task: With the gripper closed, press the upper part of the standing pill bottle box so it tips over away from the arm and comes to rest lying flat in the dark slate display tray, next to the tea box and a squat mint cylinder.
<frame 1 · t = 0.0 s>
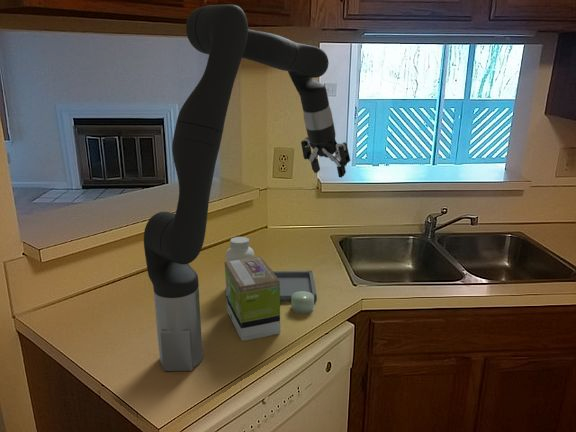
hand: (329, 173, 140), 31 cm above the worktop, tool tilted 20°, fingers open, 8 cm apart
tea box: (252, 323, 122), on the worktop
display tray: (285, 288, 141), on the worktop
pill bottle: (241, 289, 140), on the worktop
squat mint cylinder: (302, 308, 130), on the worktop
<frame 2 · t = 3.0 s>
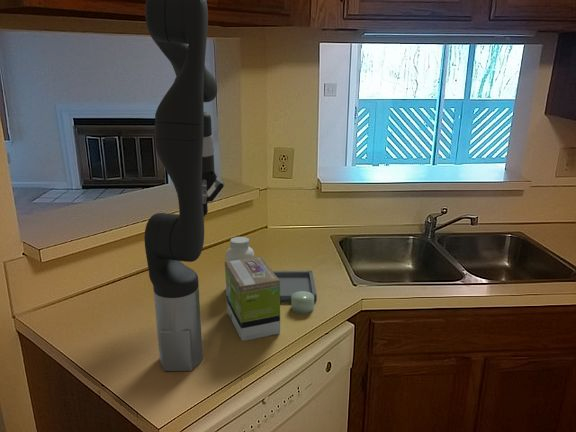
hand: (202, 215, 133), 22 cm above the worktop, tool pointing down, fingers closed
nothing on the worktop moved.
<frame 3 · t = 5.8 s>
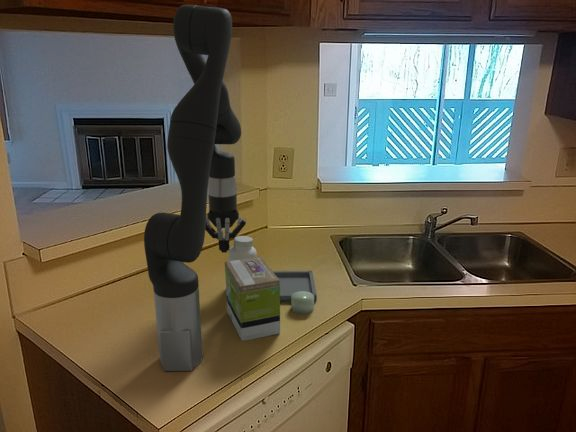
hand: (224, 251, 137), 11 cm above the worktop, tool pointing down, fingers closed
pill bottle: (241, 288, 140), on the worktop, touching gripper
everything else where it was.
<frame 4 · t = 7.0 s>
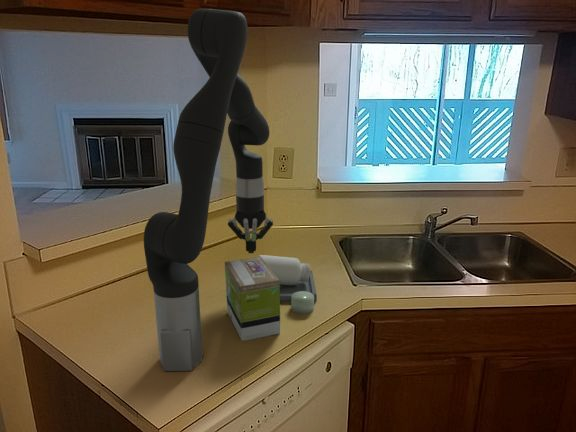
hand: (251, 252, 137), 11 cm above the worktop, tool pointing down, fingers closed
pill bottle: (256, 268, 139), point 6 cm above the worktop, touching display tray
everything else where it was.
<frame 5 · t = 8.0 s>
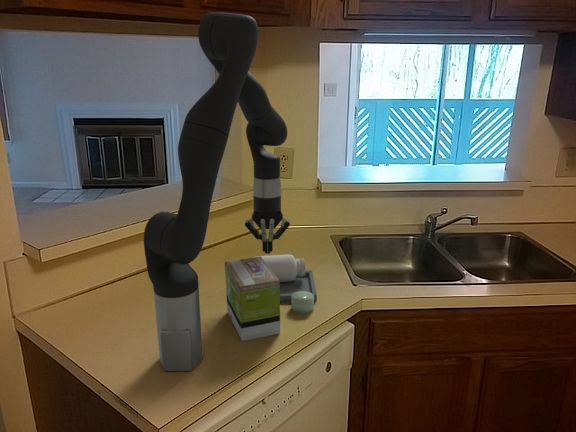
hand: (267, 252, 137), 11 cm above the worktop, tool pointing down, fingers closed
pill bottle: (252, 270, 142), point 4 cm above the worktop, touching display tray
everything else where it was.
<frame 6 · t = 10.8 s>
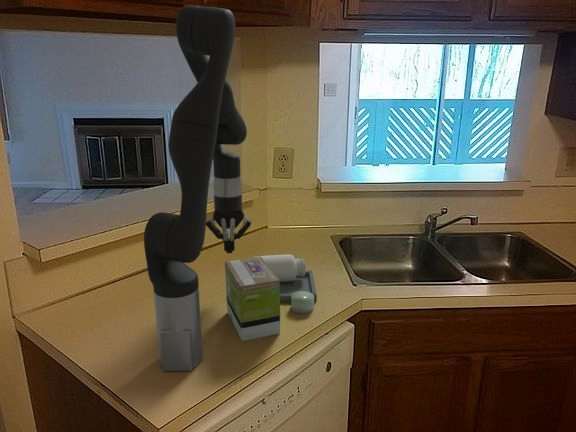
hand: (229, 252, 136), 11 cm above the worktop, tool pointing down, fingers closed
nothing on the worktop moved.
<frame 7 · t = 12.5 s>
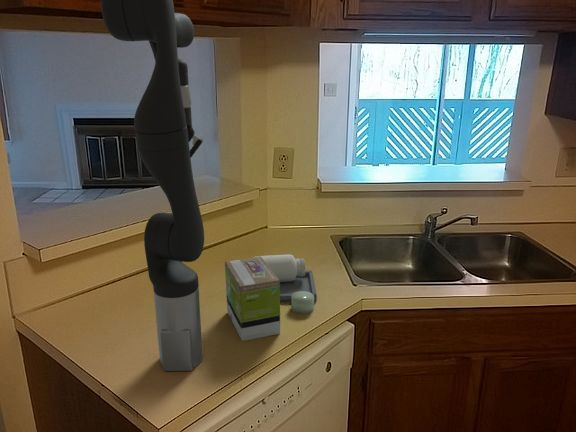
hand: (179, 176, 121), 35 cm above the worktop, tool pointing down, fingers closed
nothing on the worktop moved.
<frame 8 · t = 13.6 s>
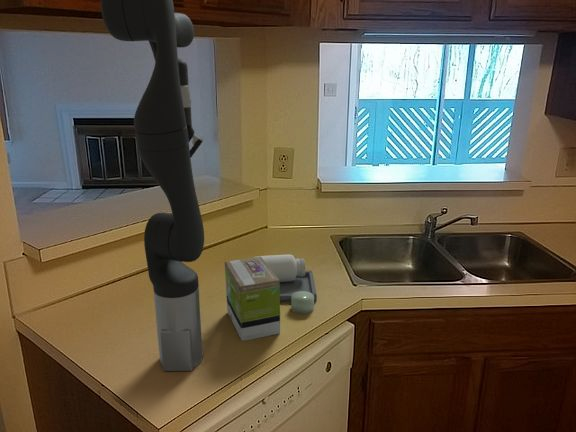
hand: (179, 176, 121), 35 cm above the worktop, tool pointing down, fingers closed
nothing on the worktop moved.
at the end: pill bottle tilted 90°; pill bottle inside the target area (4.5 cm from its centre), point 4.4 cm above the worktop; pill bottle touching display tray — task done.
